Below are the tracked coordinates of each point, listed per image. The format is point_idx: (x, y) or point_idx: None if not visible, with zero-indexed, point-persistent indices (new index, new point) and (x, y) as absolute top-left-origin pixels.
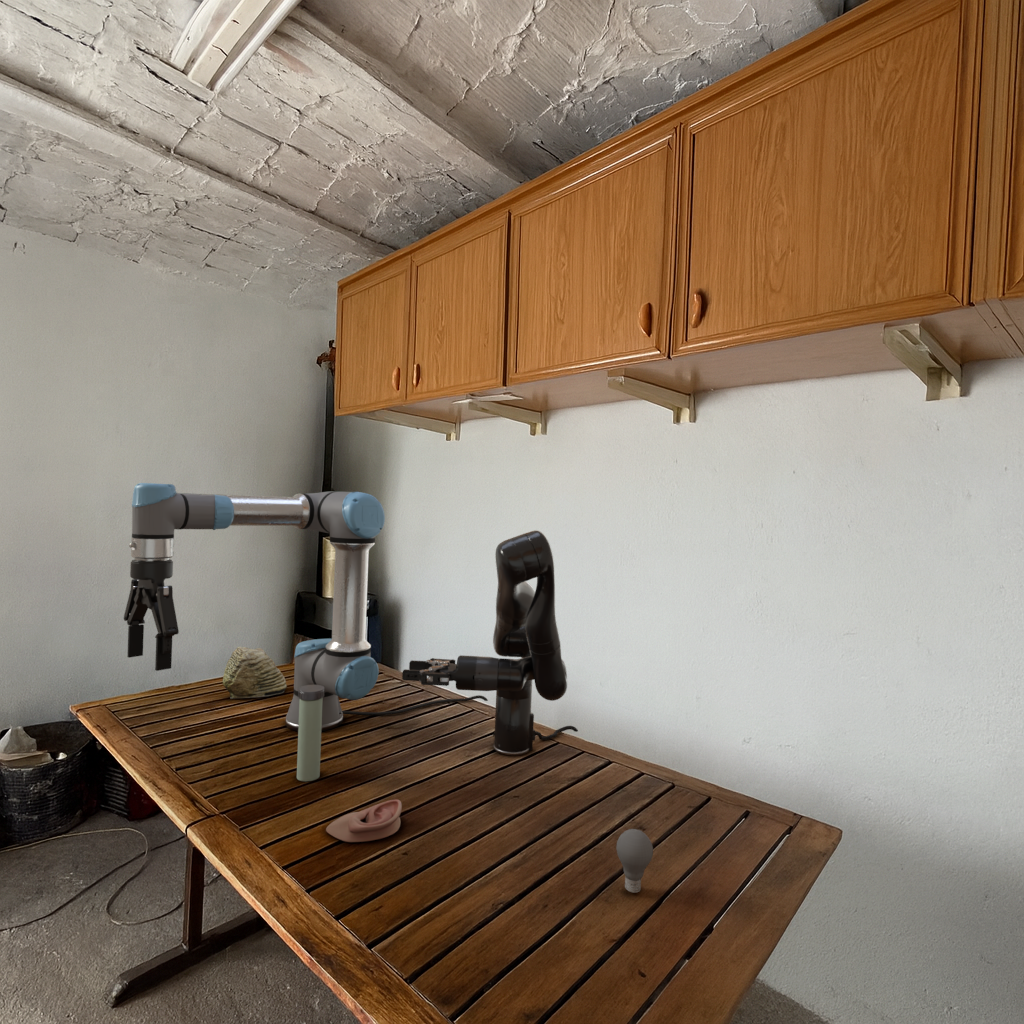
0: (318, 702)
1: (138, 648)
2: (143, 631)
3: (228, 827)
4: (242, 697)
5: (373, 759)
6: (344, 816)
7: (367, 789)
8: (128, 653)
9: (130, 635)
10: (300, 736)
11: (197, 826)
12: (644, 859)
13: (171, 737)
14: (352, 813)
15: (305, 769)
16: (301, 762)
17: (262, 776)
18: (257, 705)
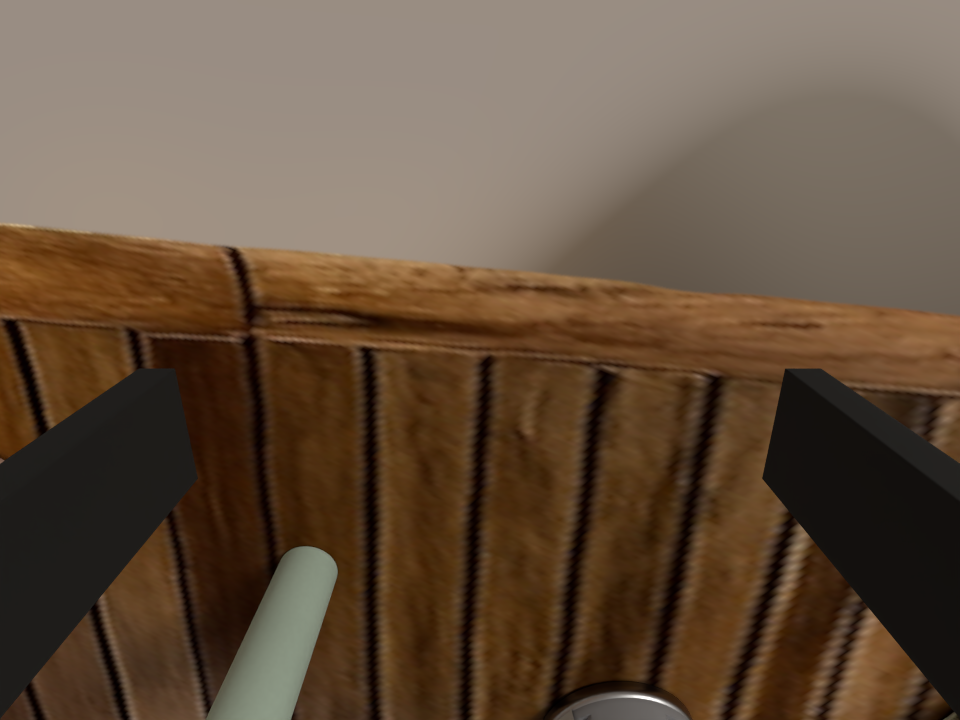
0: None
1: (809, 486)
2: (925, 674)
3: (159, 315)
4: (955, 713)
5: (297, 703)
6: None
7: (153, 616)
8: (821, 385)
9: (953, 509)
10: (262, 642)
11: (213, 263)
12: None
13: None
14: None
15: (276, 574)
16: (280, 582)
17: (389, 501)
18: (865, 709)
